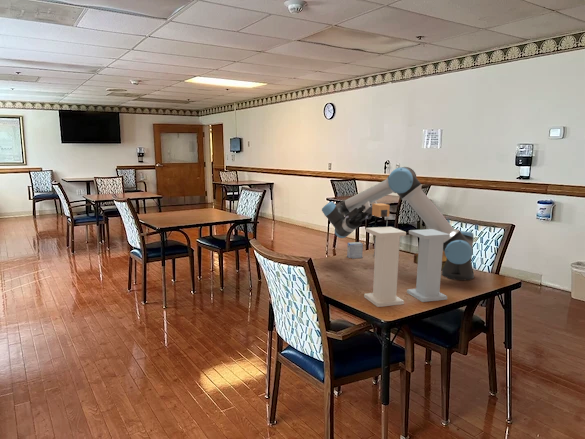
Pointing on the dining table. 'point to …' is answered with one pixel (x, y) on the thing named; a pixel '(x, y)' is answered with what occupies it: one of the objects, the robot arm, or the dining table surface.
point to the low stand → (429, 265)
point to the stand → (385, 266)
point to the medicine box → (354, 250)
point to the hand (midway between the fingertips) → (372, 204)
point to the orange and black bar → (379, 210)
